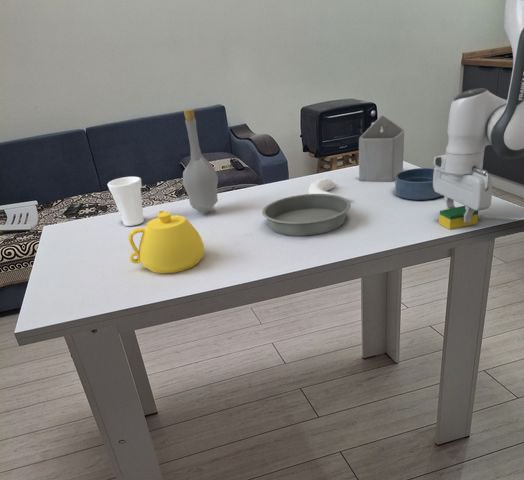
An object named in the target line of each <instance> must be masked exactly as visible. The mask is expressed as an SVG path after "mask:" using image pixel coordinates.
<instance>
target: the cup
mask: <svg viewBox="0 0 524 480" xmlns="http://www.w3.org/2000/svg"><path fill="white" fill-rule="evenodd" d="M107 188H108V190H109V192H110V193H111V195H112V197H113V200H114V203H115V205H116V209H117V211H118V213H119V216H120V218H121V220H122V222H123V225H124V226H125V227H133V226H136V225H140V224H142V223H144V221H145V219H144V209H143V200H142V178H141V177H139V176H124V177H119V178H114V179H112V180H110V181H108V183H107Z"/></svg>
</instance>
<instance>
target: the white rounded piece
mask: <svg viewBox="0 0 524 480" xmlns="http://www.w3.org/2000/svg"><path fill="white" fill-rule="evenodd" d="M335 186H336V184H335V182H334V181H333V180H332V179H329V178H321V179H317V180H315V181H314V182H312V183H310V185H309V186H308V193H307V194H330V195H335V194H334V193H333V192H329V191H330V190H333V189H334V188H335ZM344 198H345V199H347V198H346V197H344Z"/></svg>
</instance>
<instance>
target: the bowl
mask: <svg viewBox="0 0 524 480" xmlns="http://www.w3.org/2000/svg"><path fill="white" fill-rule="evenodd" d="M434 168H435V167H434ZM434 168H433V167H418V168H410V169H406V170H403V171H402V172H400V173H398V174H397V175H396V176H395V180H394V194H395V195H396V196H397V197H400V198H403V199H406V200H410V201H411V200H413V201H428V200H434V199H436V198H440V197H444V195H441V194H439V193H437V192H435V191H434V188H433V173H434Z"/></svg>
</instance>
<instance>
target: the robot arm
mask: <svg viewBox="0 0 524 480" xmlns="http://www.w3.org/2000/svg"><path fill="white" fill-rule="evenodd" d="M503 15H504V17H503V21H504V22H503V28H504V32H505V34H506V36H507V39H508V41H509V44H510V47H511V51H512V60H513V61H512V62H513V63H512V71H511V77H510V82H509V88H508V94H507V99H505V98H502V97H499V96H498V95H496V94H493V93H492V92H490V91H489V90H488V89H487V88H483V87H478V88H472V89H468V90H465V91H462V92H460V93H458V94H457V95H456V96H454V98H453V100H452V101H451V105H450V108H449V113H448V119H447V120H448V121H447V129H446V130H447V131H446V132H447V145H446V148H445V154H441V155H436V156H434V157H433V166H434V173H433V188H434V191H435V192H437V193H439V194H441V195H443V197H444V203H445V207H446V209H451V208H456V207H457V206H455V202H457V203H459V204H461V205H462V206H465V209H466V212H465V214H463V215H462V221H464V222H466V223H467V222H470V221H471V218H472V214H473V213H474V211H475V210H476V211H485V210H489V208H490V207H491V205H492V197H493V182H492V178H491V176H490V174H489V172H488V170H486V169H483V166H484V157H485V151H486V150H485V149H486V147H487V146H492V149H493V151H494V152H495V153H496V155H498V157H501V158H503V159H506V160H515V159H519V158H523V157H524V0H505V4H504V14H503ZM454 201H455V202H454Z"/></svg>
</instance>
